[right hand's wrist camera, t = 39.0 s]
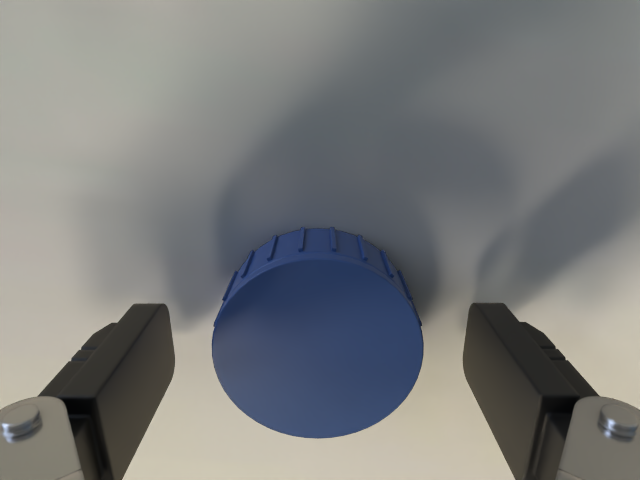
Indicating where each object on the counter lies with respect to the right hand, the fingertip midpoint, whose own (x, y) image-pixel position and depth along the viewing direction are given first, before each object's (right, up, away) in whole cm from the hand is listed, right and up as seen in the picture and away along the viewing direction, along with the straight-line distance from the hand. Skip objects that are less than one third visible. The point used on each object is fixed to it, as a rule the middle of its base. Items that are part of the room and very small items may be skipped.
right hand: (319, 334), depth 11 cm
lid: (0, 0, -1) cm, 1 cm away
